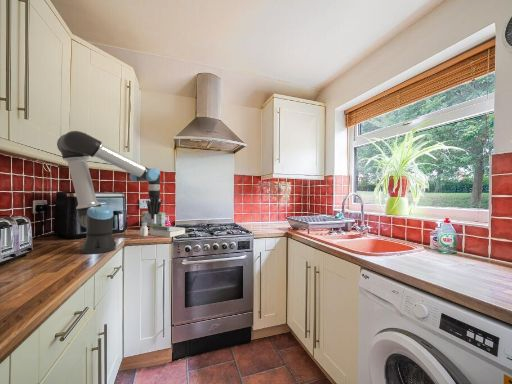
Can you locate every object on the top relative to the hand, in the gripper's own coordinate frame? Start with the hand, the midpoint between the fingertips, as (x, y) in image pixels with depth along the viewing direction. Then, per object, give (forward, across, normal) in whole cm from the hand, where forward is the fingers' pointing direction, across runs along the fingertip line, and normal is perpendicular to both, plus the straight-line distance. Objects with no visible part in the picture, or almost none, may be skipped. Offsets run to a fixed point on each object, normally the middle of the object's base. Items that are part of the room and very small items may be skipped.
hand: (153, 223), depth 159 cm
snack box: (+10, +24, +27) cm, 38 cm away
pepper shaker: (+10, 0, +10) cm, 14 cm away
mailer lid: (+6, +14, 0) cm, 15 cm away
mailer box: (+10, +14, 0) cm, 17 cm away
